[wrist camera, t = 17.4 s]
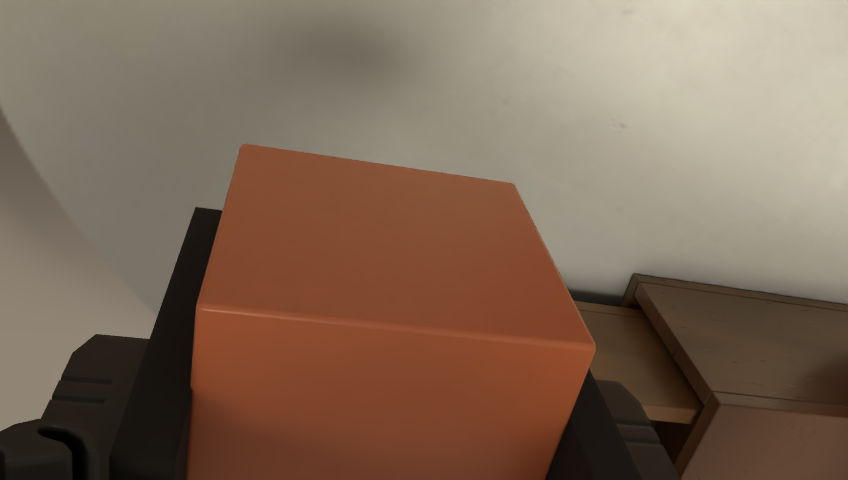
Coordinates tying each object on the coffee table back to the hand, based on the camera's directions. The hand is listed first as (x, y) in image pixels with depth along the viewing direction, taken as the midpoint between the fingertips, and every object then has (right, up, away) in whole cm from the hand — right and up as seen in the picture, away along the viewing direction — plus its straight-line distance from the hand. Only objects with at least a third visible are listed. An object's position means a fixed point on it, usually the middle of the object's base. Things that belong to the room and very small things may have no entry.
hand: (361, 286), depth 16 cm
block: (0, 0, 0) cm, 0 cm away
